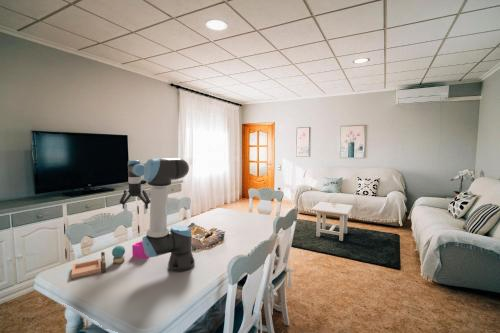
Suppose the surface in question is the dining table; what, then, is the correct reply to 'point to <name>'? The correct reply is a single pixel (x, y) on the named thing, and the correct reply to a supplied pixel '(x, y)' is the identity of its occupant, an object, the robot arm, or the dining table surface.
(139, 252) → the magenta block
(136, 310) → the dining table surface
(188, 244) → the robot arm
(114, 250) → the ball
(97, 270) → the terracotta dish
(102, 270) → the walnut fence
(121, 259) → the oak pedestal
